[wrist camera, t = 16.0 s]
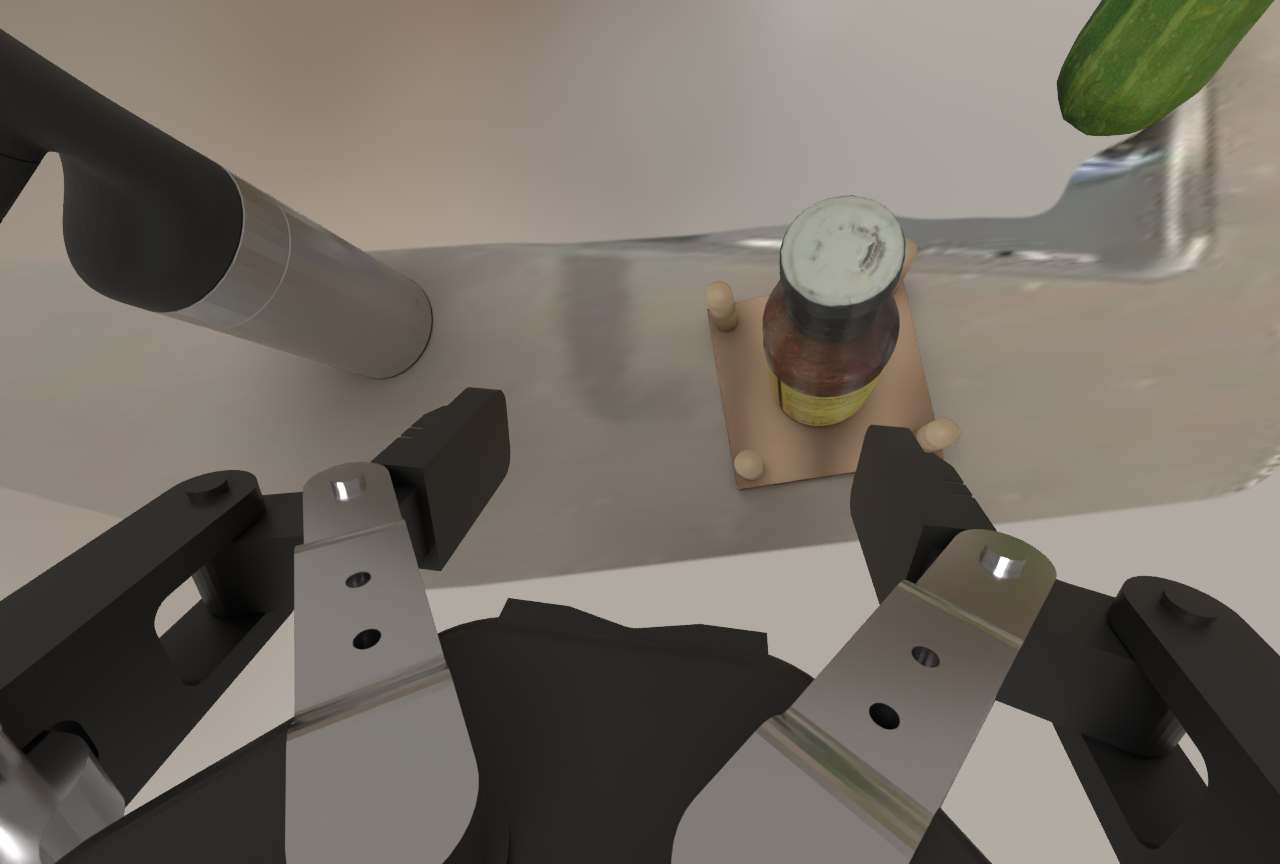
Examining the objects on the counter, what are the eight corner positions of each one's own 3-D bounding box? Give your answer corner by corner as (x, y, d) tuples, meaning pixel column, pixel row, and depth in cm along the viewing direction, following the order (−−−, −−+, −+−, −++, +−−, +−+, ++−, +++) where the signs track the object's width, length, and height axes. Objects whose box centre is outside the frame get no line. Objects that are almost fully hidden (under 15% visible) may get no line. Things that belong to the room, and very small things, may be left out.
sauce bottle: (887, 390, 36) (1009, 267, 17) (809, 448, 37) (841, 392, 18) (822, 317, 38) (866, 128, 19) (748, 374, 39) (717, 249, 19)
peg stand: (739, 489, 39) (730, 487, 32) (709, 315, 41) (696, 279, 35) (936, 459, 36) (973, 450, 30) (895, 275, 38) (919, 226, 32)
